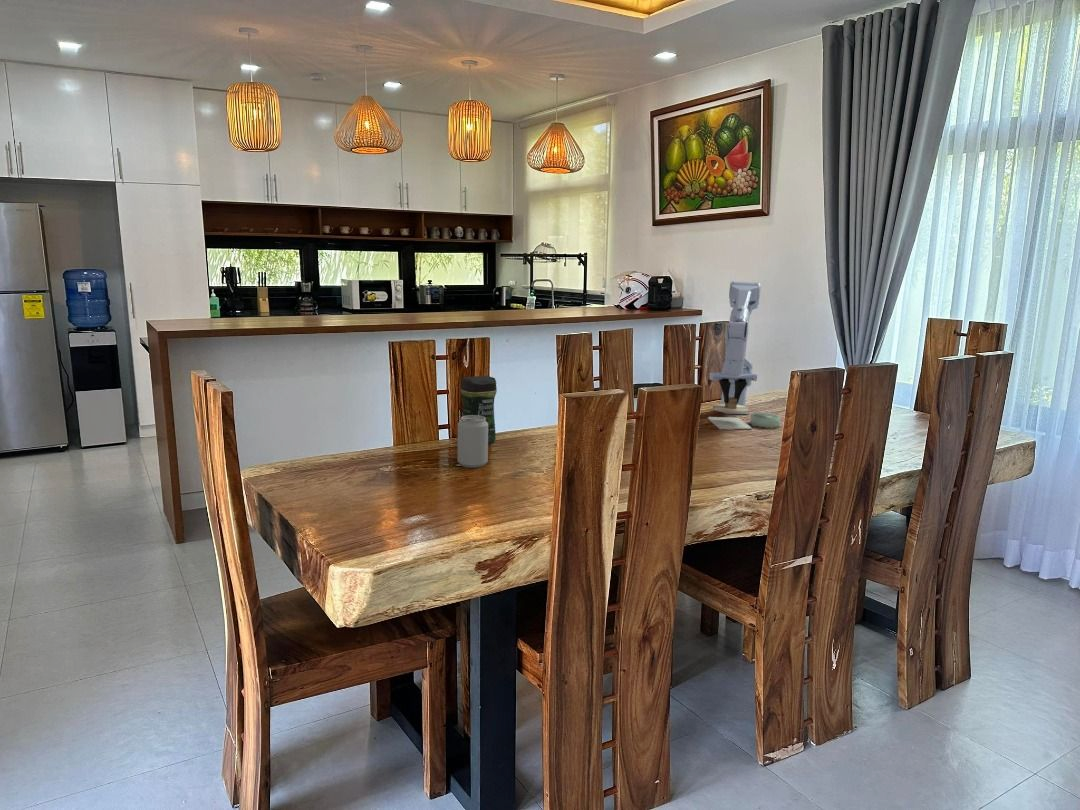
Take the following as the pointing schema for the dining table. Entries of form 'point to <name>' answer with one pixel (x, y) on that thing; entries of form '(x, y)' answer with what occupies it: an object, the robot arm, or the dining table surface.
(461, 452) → the can
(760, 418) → the bowl
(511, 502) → the dining table surface
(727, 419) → the mat
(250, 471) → the dining table surface
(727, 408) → the lid
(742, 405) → the robot arm
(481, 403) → the coffee jar
